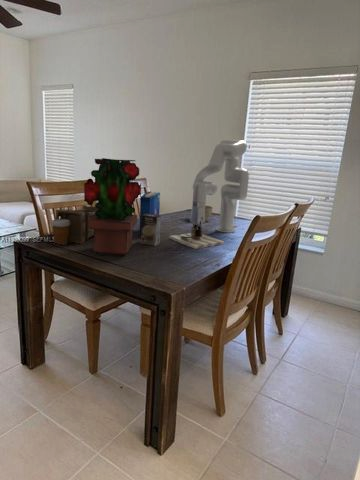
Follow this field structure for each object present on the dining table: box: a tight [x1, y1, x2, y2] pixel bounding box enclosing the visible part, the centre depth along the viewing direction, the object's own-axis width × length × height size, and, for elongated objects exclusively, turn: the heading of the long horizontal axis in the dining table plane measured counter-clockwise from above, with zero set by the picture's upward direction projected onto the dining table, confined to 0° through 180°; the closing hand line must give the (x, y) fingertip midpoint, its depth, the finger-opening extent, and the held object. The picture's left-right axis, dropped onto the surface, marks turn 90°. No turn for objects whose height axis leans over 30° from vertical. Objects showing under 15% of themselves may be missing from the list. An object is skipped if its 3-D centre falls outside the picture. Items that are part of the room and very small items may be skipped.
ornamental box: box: [55, 205, 99, 245], centre depth 191 cm, size 35×18×18 cm, turn 162°
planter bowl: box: [204, 204, 214, 223], centre depth 254 cm, size 16×16×11 cm
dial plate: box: [168, 232, 225, 250], centre depth 194 cm, size 22×24×2 cm
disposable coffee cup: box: [50, 218, 71, 245], centre depth 172 cm, size 10×10×12 cm
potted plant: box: [83, 157, 142, 257], centre depth 159 cm, size 22×22×45 cm
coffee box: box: [140, 213, 162, 247], centre depth 182 cm, size 9×6×16 cm
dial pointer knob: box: [181, 227, 204, 239], centre depth 192 cm, size 12×5×6 cm, turn 105°
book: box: [139, 191, 161, 236], centre depth 203 cm, size 22×7×25 cm, turn 168°
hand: (196, 235), depth 194 cm, fingers closed on dial pointer knob, 2 cm apart
